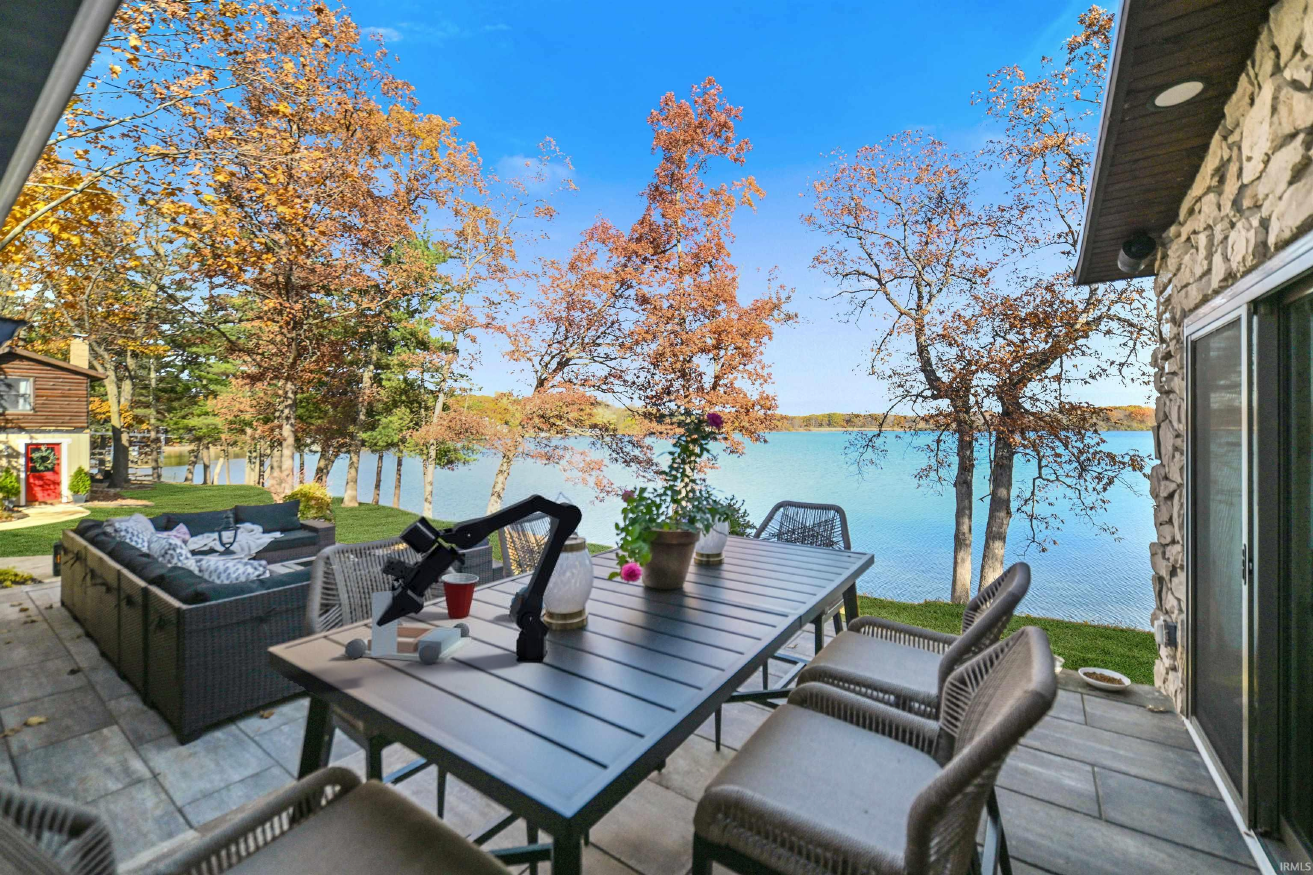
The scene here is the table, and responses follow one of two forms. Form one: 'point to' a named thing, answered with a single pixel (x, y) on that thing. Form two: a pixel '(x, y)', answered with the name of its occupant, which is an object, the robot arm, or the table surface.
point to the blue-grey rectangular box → (386, 634)
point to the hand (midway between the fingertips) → (377, 621)
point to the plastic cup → (459, 593)
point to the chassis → (418, 644)
